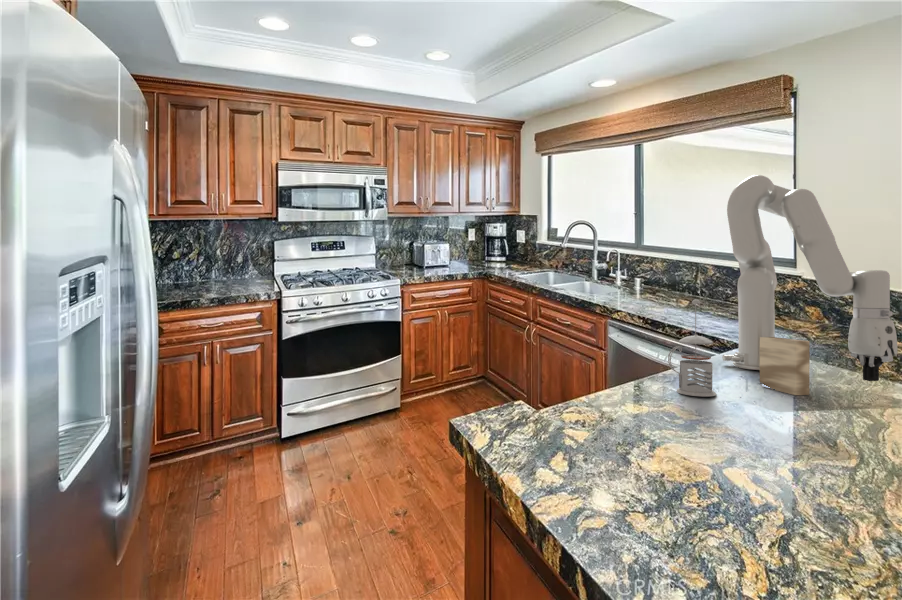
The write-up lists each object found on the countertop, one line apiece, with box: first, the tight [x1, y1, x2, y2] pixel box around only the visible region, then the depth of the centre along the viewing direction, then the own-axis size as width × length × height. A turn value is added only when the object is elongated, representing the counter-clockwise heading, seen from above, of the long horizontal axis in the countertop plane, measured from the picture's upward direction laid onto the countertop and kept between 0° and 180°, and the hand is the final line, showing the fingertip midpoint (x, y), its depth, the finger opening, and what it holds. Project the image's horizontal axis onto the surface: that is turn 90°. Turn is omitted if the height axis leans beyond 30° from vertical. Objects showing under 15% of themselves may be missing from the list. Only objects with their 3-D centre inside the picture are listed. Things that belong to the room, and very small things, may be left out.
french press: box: [667, 298, 718, 397], centre depth 123 cm, size 10×12×25 cm
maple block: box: [759, 336, 811, 396], centre depth 125 cm, size 4×12×14 cm, turn 6°
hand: (870, 380), depth 128 cm, fingers closed
